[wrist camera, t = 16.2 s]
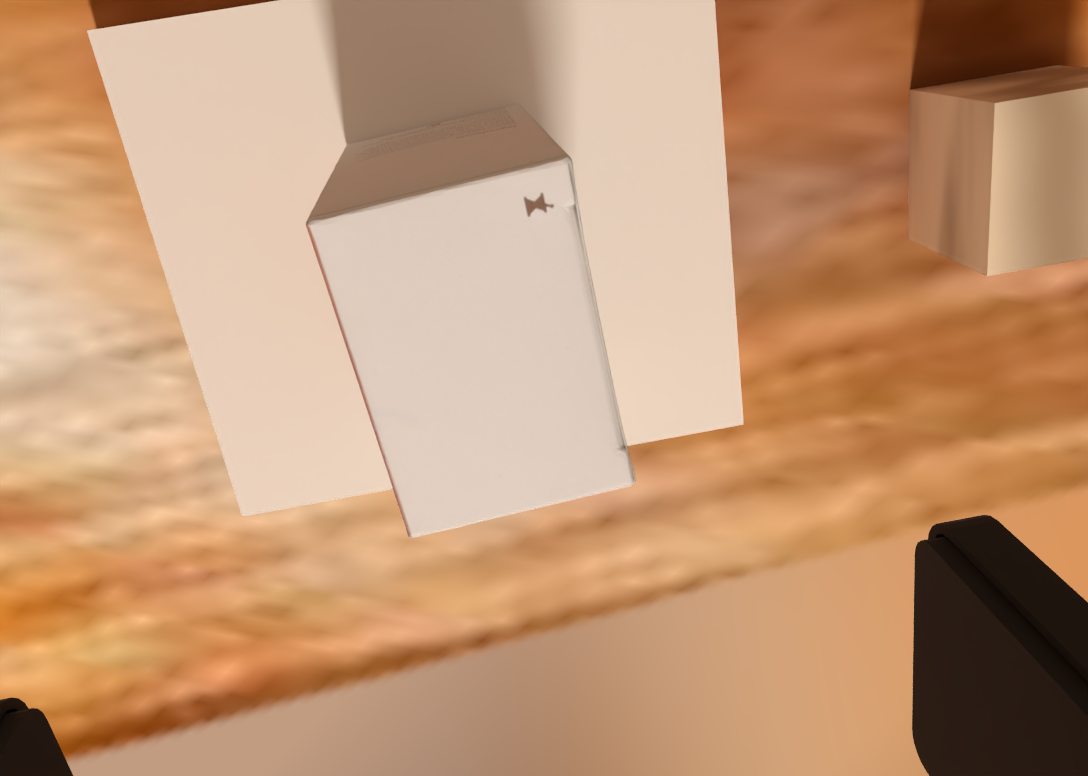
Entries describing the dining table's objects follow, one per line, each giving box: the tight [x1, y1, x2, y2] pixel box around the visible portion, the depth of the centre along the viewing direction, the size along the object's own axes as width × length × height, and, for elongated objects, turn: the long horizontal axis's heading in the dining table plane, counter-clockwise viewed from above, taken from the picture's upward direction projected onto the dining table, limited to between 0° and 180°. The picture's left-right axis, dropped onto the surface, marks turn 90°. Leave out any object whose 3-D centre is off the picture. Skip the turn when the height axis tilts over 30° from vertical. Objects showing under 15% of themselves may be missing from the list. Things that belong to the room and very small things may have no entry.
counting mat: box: [87, 0, 743, 517], centre depth 30 cm, size 18×16×1 cm
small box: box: [306, 104, 636, 538], centre depth 24 cm, size 8×6×10 cm
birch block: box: [908, 65, 1088, 276], centre depth 29 cm, size 5×5×5 cm
